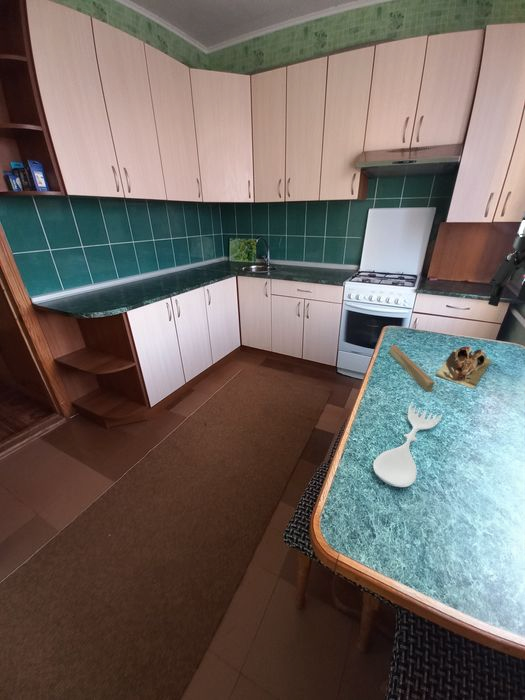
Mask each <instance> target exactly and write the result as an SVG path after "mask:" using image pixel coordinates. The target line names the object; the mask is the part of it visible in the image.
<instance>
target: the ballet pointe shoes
mask: <svg viewBox="0 0 525 700" xmlns="http://www.w3.org/2000/svg"><path fill="white" fill-rule="evenodd" d="M492 361H493V359H492V358H487V356H486V353H485V351H484V350H483V349H481V348H480V349H476V350H474V351H473V350H472V348H471V347H470V346H461V347H459V348H458V349H453V351H452V352H451V353H450V354H449V356H448V357H447V359H446V360H445V362H443V364H442V365H441V367H440V368H439V369H438V370H437V372H436V373H435V376H436V377H438V378H442V379H445V380H448V381H451V382H453V383H457V384H460V385H462V386H465V387H468V388H470V389H475V388H476V387H477V384H478V383H479V382H480V380H481V378H482V377H483V376H484V374H485V372H486V371H487V369H488V368H489V366H490V364H491V362H492Z"/></svg>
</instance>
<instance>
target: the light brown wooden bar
mask: <svg viewBox="0 0 525 700" xmlns="http://www.w3.org/2000/svg"><path fill="white" fill-rule="evenodd" d="M389 354H390V356H392V357H393V358H394V359H395V361H396V362H397V363H398V364H399V365H400V366H401V367H402V368H403V369H404V370H405V371H406V372H407V373H408V375H410V376H411V377H412V379H414V381H415V382H416V383H417V384H419V386H420V387H421V388H422V389H423V390H424V391H425V392H432V391H433V389H434V385H435V381H434V380H432V378H430V377H429V375H428V374H427V373H425V372H424V371H423V370H422V368H420V367H419V365H417V364H416V363H415V362H414V361H413V360H412V359H411V358H410V357H409V356H407V354H405V352H404V351H403V350H402V349H400V348H399V347H398V346H397V344H391V345H390V347H389Z"/></svg>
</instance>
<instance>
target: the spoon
mask: <svg viewBox="0 0 525 700" xmlns="http://www.w3.org/2000/svg"><path fill="white" fill-rule="evenodd" d="M416 410H417V405H415V406H414V407H413V402H410V404H409V406H408V410H407V420H408V421H409V423H410V425H411V426H412V429H411V430H410V432H409V433H405V434H403V437H404V438H405V439H406V441H405V442H404V443H403V444H402V445H400V446H397V447H395V448H391V449H388V450H385V451H383V452H381V453H379V454H378V456H376V458H375V459H374V461H373V463H372V464H373V465H372V467H373V471H374V473H375V474H376V476H377V477H378V478H379V479H380V480H381V481H382V482H384V483H385V484H387V485H389V486H392V487H395V488H406V487H410V486H411V485H413V484H414V483H415V482H416V478H417V474H418V470H417V465H416V462H415V460H414V457H413V456H412V453H411V450H410V445H411V442H413V443H415V442H417V441H418V438H417V437H416V434H417V433H418V431H423V430H424V431H425V430H430V429H432V428H434V427H435V426H436V425H437V424H438V423H439V422H440V421H441V420H442V418H443V413H441V414H440V415H439V416H438V417H437V415H438V413H437V412H436V413H435V414H434V415H433V412H430V414H429V415H428V417H427V411H426V410H424V411H423V412H422V413H421V415H420V411H421V407H419V408H418V410H417V411H416ZM432 416H433V417H432ZM426 417H427V418H426Z"/></svg>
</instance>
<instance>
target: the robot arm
mask: <svg viewBox="0 0 525 700" xmlns="http://www.w3.org/2000/svg"><path fill="white" fill-rule="evenodd" d="M514 238H515V239H514V242H513V244H512V249H514V250H515V251H514V253H510V252H507V253H506V254H505V256H504V259H503V260H502V262H501V263H500V265H499V267H498V268H497V270H496V271H495V273H494V274H493V276H492V277H491V279H490V280H489V285H492V286H493V287H492V291H491V293H490V297H489V300H488V303H487V305H489V306H492V307H498V306H499V304H500V301H501V298H502V296H503V293H504V289H505V286H504V285H505V284H506V283H507V282H508V280H509V279H511V277H513V275H514V274H515V273H516V272H517V271H518V270H520V269H521V268H523V272H525V211H524V212H523V216H522V219H521V222H520V224H519V228H518V230H517V236H516V237H514ZM516 300H518V301H522V302H525V280H523V282H522V285H521V287H520V290H519V292H518V295H517V298H516Z"/></svg>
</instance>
